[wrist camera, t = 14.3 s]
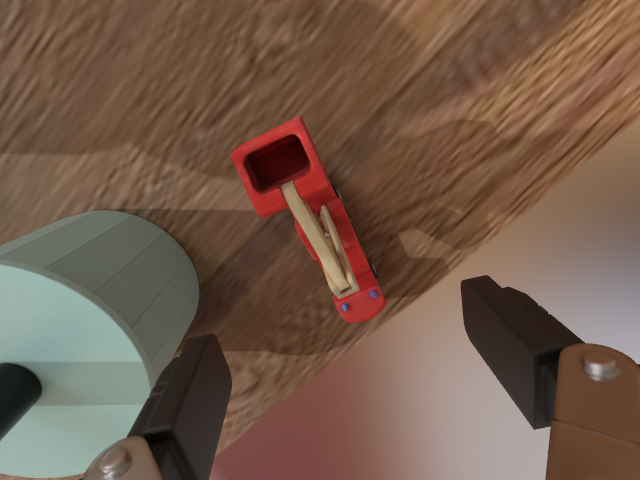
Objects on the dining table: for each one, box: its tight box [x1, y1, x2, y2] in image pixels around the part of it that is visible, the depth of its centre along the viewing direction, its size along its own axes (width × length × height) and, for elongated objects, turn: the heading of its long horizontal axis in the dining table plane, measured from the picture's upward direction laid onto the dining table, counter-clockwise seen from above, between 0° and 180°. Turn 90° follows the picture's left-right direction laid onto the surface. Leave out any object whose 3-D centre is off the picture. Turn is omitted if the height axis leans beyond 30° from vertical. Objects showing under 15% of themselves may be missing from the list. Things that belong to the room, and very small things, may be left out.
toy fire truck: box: [230, 116, 386, 323], centre depth 20 cm, size 3×14×10 cm, turn 25°
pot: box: [0, 210, 199, 386], centre depth 22 cm, size 12×12×10 cm
